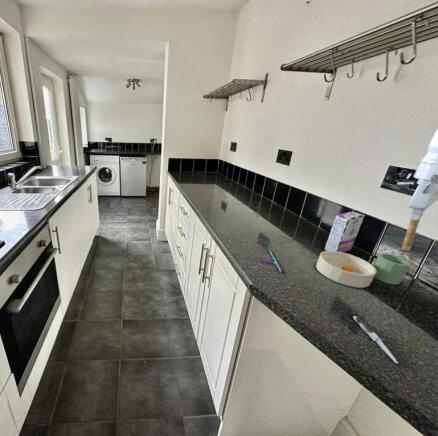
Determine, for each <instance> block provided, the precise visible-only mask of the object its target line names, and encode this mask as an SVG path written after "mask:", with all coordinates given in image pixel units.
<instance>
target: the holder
mask: <svg viewBox="0 0 438 436" xmlns="http://www.w3.org/2000/svg"><path fill="white" fill-rule="evenodd" d="M372 265H373V267H374V268H375V269H376V271H377V273H376V275H375V277H374V279H376V280H378V281H380V282H384V283H386V284H390V285H400V284H401V283H402V281H403V279H404V277H405V276H406V274H407V272H408V270H409V269H410V266H411V265H412V264H411V262H410V261H409V260H407V259H406V258H403V257H401V256H399V255H396V254H392V253H386V252H381V253H379V254H378V255H377V257H376V259H375V262H374V264H372Z"/></svg>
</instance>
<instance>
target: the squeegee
mask: <svg viewBox="0 0 438 436" xmlns="http://www.w3.org/2000/svg"><path fill="white" fill-rule="evenodd" d="M268 252H269V253H270V255H271V257H272V260H273V261H274V262H273V261H271V260H262V263H266V264H274V265H276V267H277V269H278V271H279V273H280V274H283V270H282V268H281V267H280V265H279V263H278V261H277V259H276V258H275V255H274V254H273V252H272V251H271V250H268Z"/></svg>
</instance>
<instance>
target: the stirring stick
mask: <svg viewBox="0 0 438 436" xmlns="http://www.w3.org/2000/svg"><path fill="white" fill-rule="evenodd" d="M421 215H422V214H421ZM422 216H423V215H422ZM421 218H422V217H421V216H420V218H419V219H418V220H413V219H410V221H409V223H408V226H407V230H406V233H405V236H404V239H403V242H402V245H401V247H400V248H401V249H400V250H401V251H406V252H409V251H410V250H411V247H412V245H413V241H414V238H415V236H416V232H417V230H418V226H419V223H420V221H421V220H420V219H421Z"/></svg>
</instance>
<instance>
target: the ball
mask: <svg viewBox="0 0 438 436" xmlns="http://www.w3.org/2000/svg"><path fill="white" fill-rule="evenodd" d="M341 269H342V270H345V271H348V272H351V273H353V269H352V268H351V267H350V266H343V267H342V268H341Z"/></svg>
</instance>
